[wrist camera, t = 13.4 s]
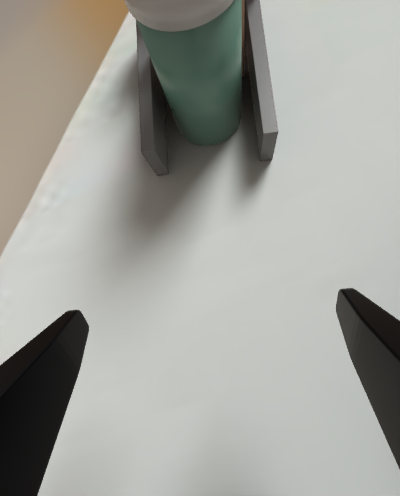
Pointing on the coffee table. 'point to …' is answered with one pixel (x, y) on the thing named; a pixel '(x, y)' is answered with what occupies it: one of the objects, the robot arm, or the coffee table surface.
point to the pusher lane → (260, 88)
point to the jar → (196, 62)
